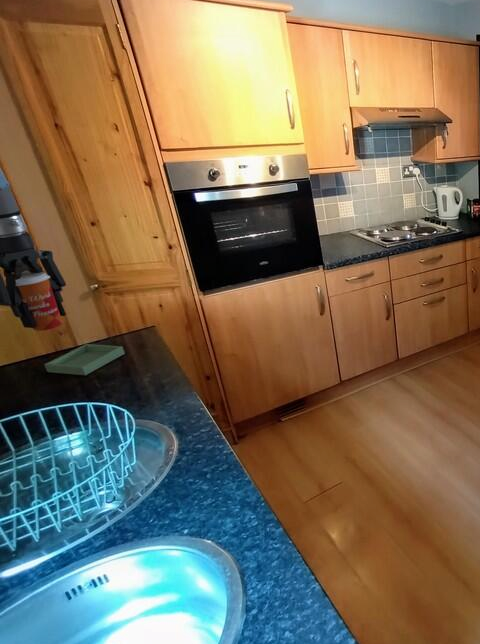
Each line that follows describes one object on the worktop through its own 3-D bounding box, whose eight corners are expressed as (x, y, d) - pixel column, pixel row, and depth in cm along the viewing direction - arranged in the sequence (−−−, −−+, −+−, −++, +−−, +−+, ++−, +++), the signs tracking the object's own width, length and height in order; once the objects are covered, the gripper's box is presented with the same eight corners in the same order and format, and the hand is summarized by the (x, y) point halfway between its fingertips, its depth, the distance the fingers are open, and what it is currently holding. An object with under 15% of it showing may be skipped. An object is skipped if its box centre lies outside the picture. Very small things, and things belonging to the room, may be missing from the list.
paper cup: (25, 335, 112) (0, 283, 106) (29, 324, 118) (6, 274, 112) (67, 327, 117) (46, 276, 111) (69, 317, 122) (49, 268, 116)
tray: (47, 372, 132) (43, 364, 131) (89, 350, 143) (86, 343, 142) (85, 375, 130) (82, 367, 129) (125, 353, 142) (122, 346, 141)
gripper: (-31, 246, 98) (15, 339, 107) (62, 225, 115) (95, 306, 125) (-60, 244, 99) (-12, 337, 108) (37, 223, 116) (71, 304, 126)
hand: (45, 320), depth 116 cm, fingers closed on paper cup, 6 cm apart
